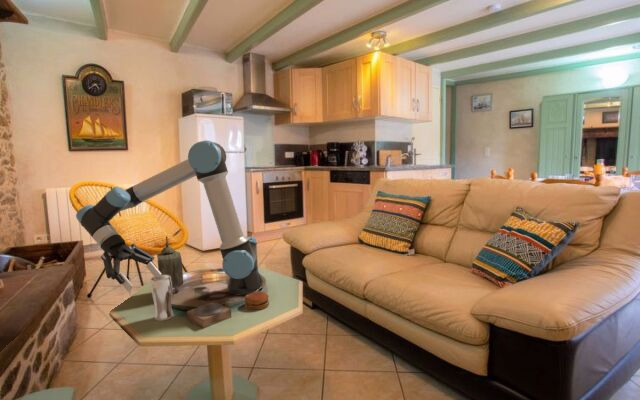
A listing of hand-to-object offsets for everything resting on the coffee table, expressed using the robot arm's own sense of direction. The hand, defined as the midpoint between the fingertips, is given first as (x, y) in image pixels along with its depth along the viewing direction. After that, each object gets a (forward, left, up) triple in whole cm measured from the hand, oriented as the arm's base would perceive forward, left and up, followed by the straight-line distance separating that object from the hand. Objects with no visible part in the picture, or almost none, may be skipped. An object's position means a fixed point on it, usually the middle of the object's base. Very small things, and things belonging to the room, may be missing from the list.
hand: (145, 282), depth 131 cm
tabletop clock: (-16, -15, -13) cm, 26 cm away
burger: (-31, +24, -13) cm, 41 cm away
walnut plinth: (-13, +20, -13) cm, 27 cm away
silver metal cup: (-3, +6, -13) cm, 15 cm away
